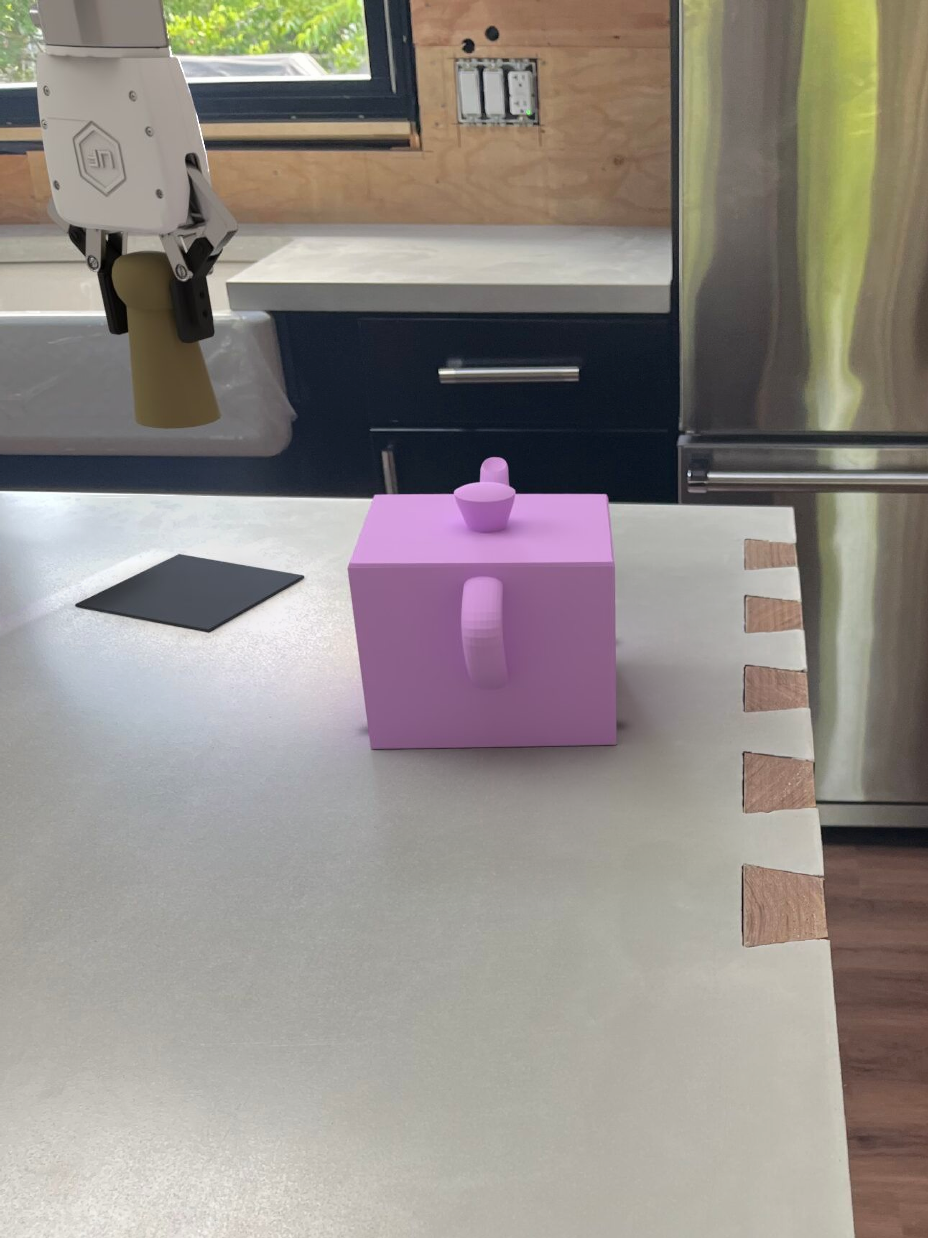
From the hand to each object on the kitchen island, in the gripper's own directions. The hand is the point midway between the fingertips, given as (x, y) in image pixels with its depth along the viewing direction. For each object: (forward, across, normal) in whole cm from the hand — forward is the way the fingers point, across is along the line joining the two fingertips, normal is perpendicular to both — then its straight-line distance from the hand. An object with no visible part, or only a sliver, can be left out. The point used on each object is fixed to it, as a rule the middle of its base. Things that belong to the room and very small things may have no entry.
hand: (162, 332), depth 94 cm
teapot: (+18, +31, -10) cm, 37 cm away
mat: (+18, +1, -3) cm, 18 cm away
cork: (+6, 0, 0) cm, 6 cm away
